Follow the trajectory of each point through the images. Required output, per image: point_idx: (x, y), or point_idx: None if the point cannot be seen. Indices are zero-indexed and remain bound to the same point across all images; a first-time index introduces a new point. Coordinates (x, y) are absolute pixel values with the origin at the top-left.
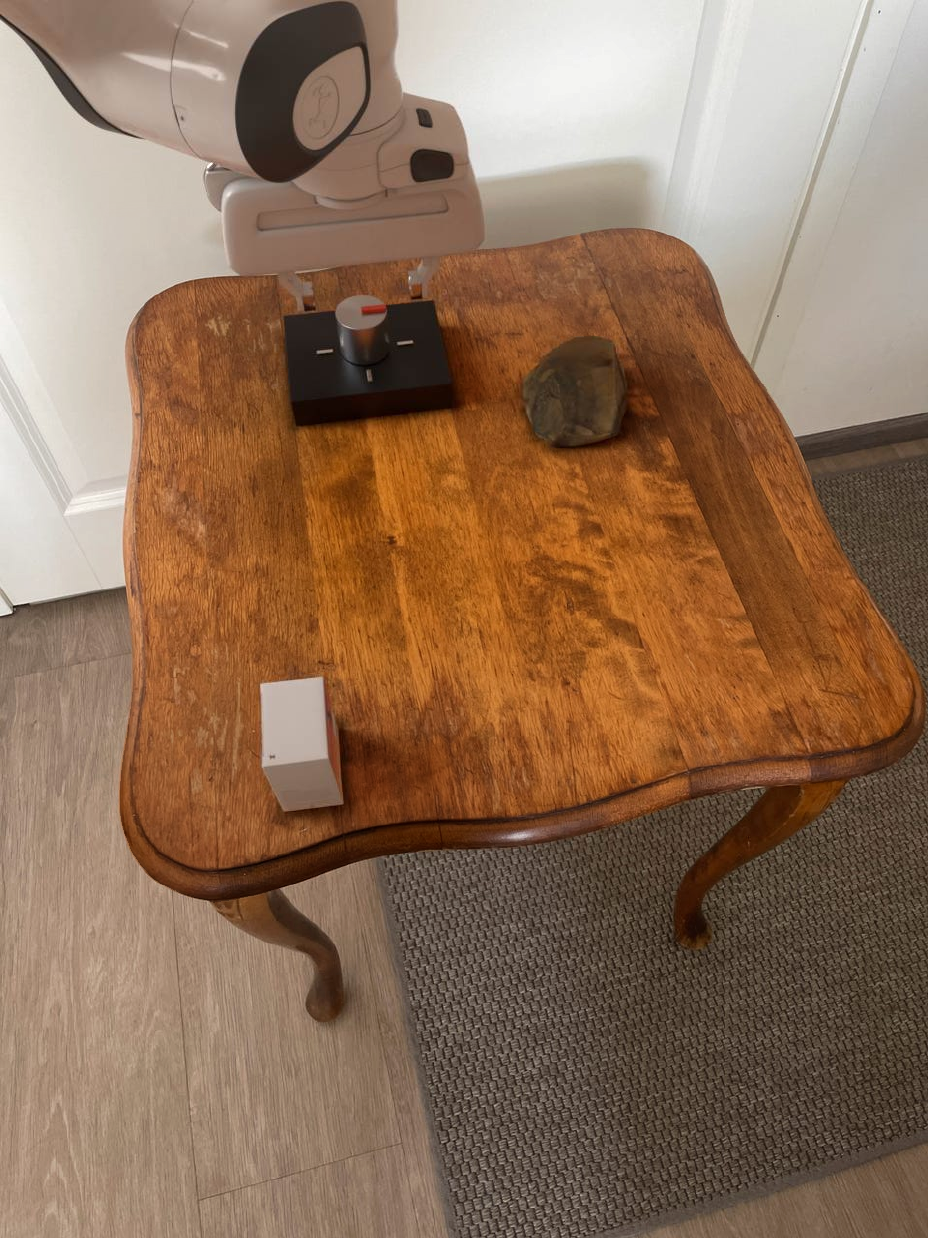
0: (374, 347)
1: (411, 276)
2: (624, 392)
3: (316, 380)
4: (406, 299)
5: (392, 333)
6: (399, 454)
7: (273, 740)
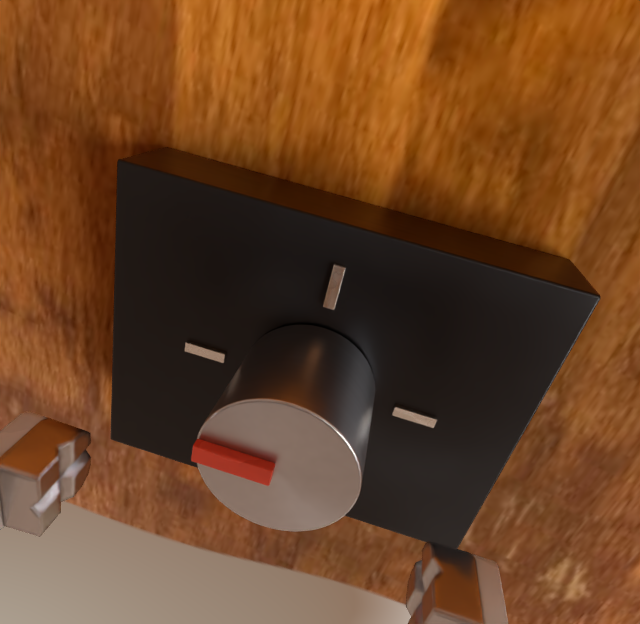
0: (285, 352)
1: (27, 509)
2: None
3: (484, 337)
4: (186, 474)
5: None
6: (351, 29)
7: None
